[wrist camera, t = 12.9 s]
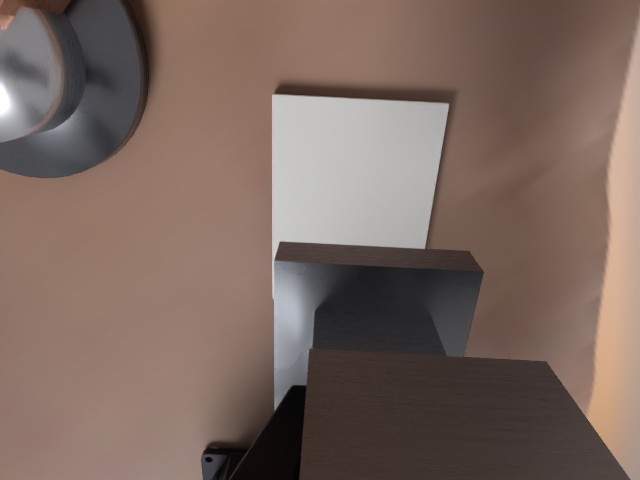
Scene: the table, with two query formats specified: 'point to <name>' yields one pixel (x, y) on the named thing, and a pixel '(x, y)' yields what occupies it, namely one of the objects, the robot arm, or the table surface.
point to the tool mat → (354, 170)
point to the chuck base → (91, 96)
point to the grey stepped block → (414, 375)
